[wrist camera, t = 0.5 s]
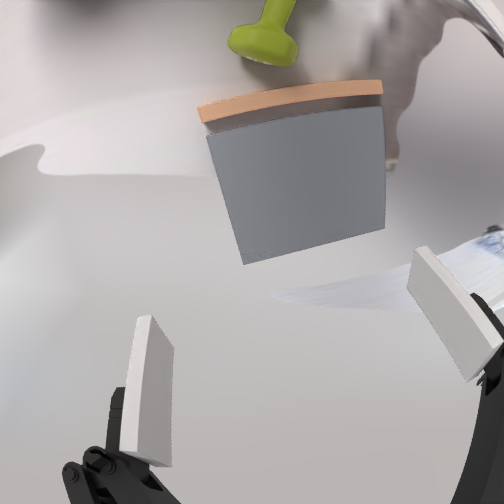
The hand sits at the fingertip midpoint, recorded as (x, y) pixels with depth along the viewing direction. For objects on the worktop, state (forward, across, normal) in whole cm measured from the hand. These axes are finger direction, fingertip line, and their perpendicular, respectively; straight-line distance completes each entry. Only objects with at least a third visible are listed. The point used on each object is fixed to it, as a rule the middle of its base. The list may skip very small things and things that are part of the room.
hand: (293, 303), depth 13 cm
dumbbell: (+27, +8, +19) cm, 34 cm away
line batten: (+27, +8, +7) cm, 29 cm away
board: (+27, +9, -6) cm, 29 cm away
